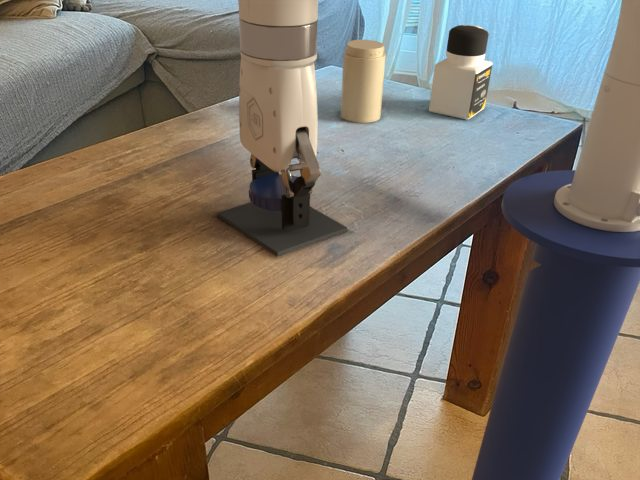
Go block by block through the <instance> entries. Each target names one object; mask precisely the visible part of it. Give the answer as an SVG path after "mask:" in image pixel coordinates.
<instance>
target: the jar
mask: <svg viewBox="0 0 640 480" xmlns="http://www.w3.org/2000/svg"><path fill="white" fill-rule="evenodd" d="M342 57H343V59H342V62H343V63H342V78H341V79H342V80H341V99H340V100H341V101H340V102H341V103H340V117H341V119H343V120H344V121H345V120H346V121H348V122H352V123H360V124H366V123H367V124H368V123H373V122H377V121H379V120H381V116H382V106H383V94H384V82H385V71H386V70H385V69H386V59H387V54H386V52H385V44H384V43H382V42H381V41H378V40H373V39H354V40H349V41H347V42H346V49H345V50H343V56H342Z"/></svg>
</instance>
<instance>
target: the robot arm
mask: <svg viewBox="0 0 640 480" xmlns="http://www.w3.org/2000/svg"><path fill="white" fill-rule="evenodd" d="M237 2H238V3H237V4H238V23H239V24H238V26H239V45H240V46H239V47H240V49H239V50H240V66H239V85H238V86H239V88H238V95H239V96H238V114H239V116H238V117H239V118H238V120H239V121H238V122H239V125H238V126H239V140H240V143H241V145H242V147H243V148H244V149H246V150H247V151H248V152H249V154H250V158H249V164H250V167H251V169H252V170H251V182H252V181H253V180H254V179H256V178H258V177H261V176H266V175H272V174H282V179H283V184H284V189H285V195H282V229H283V230H285V231H291V230H295V229H300V228H304V227H307V226H308V225H309V217H310V207H311V194H313V191H314V190H313V188H314V187H315V185H316V182H317V181H318V179H319V177H320V176H321V175H322V172H321V167H320V164H319V161H318V159H317V154H318V153H317V152H318V141H319V140H318V139H319V137H318V135H319V134H318V133H319V132H318V131H319V125H318V124H319V122H318V120H319V119H318V117H319V116H318V91H317V77H316V68H315V61H316V60H317V59H318V30H319V27H318V26H319V25H318V24H319V22H318V21H319V0H237ZM620 2H621V3H620V9H619V14H618V19H617V24H616V28H615V32H614V37H613V40H612V44H611V48H610V51H609V54H608V59H607V61H606V65H605V68H604V72H603V75H602V77H601V80H600V81H601V82H600V85H599V88H598V91H597V95H596V98H595V102H594V106H593V109H592V112H591V115H590V120H589V123H588V126H587V130H586V133H585V136H584V140H583V143H582V146H581V150H580V153H579V157H578V160H577V164H576V167H575V170H576V171H575V174H574V177H573V181H572V184H568V185H566V186H563V187H561V188H560V189H559V190H558V191H557V192H556V194H555V198H554V206H555V207H556V209H557V211H558V212H560V213H561V214H562V215H563V216H565V217H566V218H568V219H569V220H571V221H573V222H575V223H578V224H581V225H583V226H587V227H590V228H594V229H598V230H603V231H611V232H635V231H640V0H621V1H620ZM294 159H295V160H296V159H297V160H298V161H299V163H293V164H291V163H292V160H294ZM297 171H299V173H300V176H297V178H296V179H295V181H294V182H293V183H292V178H291V175H292V174H291V172H297Z"/></svg>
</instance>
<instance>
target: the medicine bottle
mask: <svg viewBox="0 0 640 480" xmlns="http://www.w3.org/2000/svg"><path fill="white" fill-rule="evenodd" d="M489 35H490V34H489V32H488V30H486V29H485V28H483V27H481V26H479V25H473V24H459V25H456V26H453V27H452V28H451V29H449V31H448V37H447V44H446V51H445V57H446V58H444V59H443V60H439V62H436V63H435V64H434V68H433V75H432V83H431V90H430V96H429V97H430V99H429V106H428V111H429V112H430V113H433V114H437V115H438V114H439V115H444V116H448V117H453V118H457V119H461V120H466V121H468V120H470V119H471V118H473V117H474V116H476V115H477V114H478V113H480V112H481V111H482V110H484V109H485V107H486V102H487V96H488V92H489V86H490V80H491V75H492V70H493V62H492V61H490V60H485V57H486V54H487V53H486V52H487V47H488V41H489Z"/></svg>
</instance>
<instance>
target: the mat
mask: <svg viewBox="0 0 640 480" xmlns="http://www.w3.org/2000/svg"><path fill="white" fill-rule="evenodd" d="M216 216H217V218H219V219H221V220H222V221H224V222H225V223H226V224H228V225H229V226H231V227H232V228H234V229H235V230H237V231H239V232H240V233H242V234H243V235H244V236H246V237H247V238H249V239H251V240H252V241H253V242H255V243H256V244H258V245H260V246H261V247H263V248H264V249H265V250H267V251H268V252H270V253H272V254H273V255H275V256H276V257H280V256H283V255H286V254H289V253H292V252H294V251H297V250H299V249H302V248H305V247H307V246H310V245H313V244H316V243H319V242H322V241H324V240H327V239H330V238H332V237H335V236H338V235H341V234H344V233H346V232H348V227H347V226H345V225H343V224H342V223H340V222H338V221H336V220H335V219H333V218H331V217H329V216H327V215H326V214H324V213H322V212H321V211H319V210H317V209H315V208H314V207H312V206H310V217H309V225H308V226H307V227H304V228H300V229H295V230H291V231H285V230H283V229H282V211H272V210H266V209H262V208H260V207H257V206H256V205H254V204H253V203H252V202H251V201H250V202H248V203H244V204H241V205H238V206H234V207H231V208H227V209H225V210H221V211H217V212H216Z"/></svg>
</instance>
